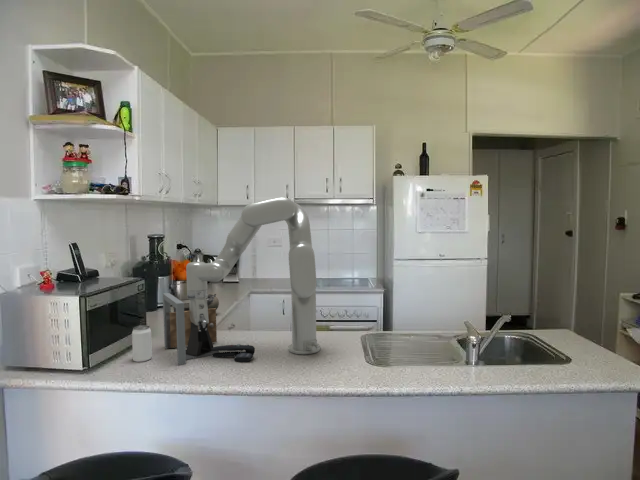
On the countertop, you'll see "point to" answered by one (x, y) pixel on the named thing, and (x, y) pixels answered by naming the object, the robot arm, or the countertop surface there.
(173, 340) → the gate door
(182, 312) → the door frame
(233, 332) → the countertop surface
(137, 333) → the can
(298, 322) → the robot arm
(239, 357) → the can opener
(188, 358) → the rubber mat
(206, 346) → the phone stand
